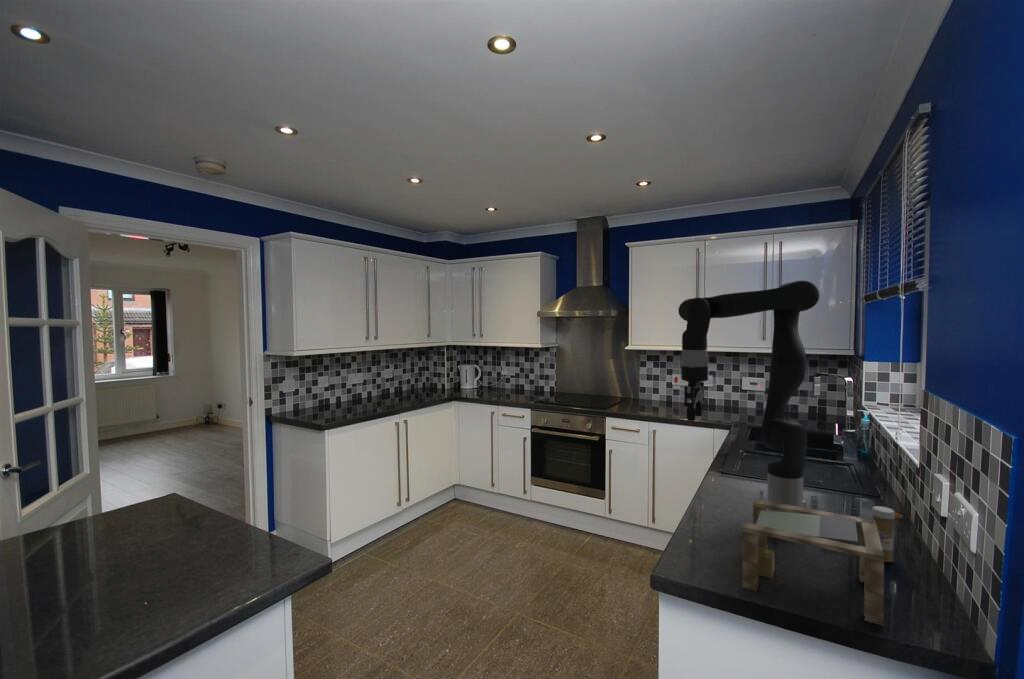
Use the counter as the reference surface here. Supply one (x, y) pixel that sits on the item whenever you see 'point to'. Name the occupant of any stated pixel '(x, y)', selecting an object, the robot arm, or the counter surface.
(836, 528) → the trapdoor
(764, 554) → the block
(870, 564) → the trapdoor frame
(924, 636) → the counter surface
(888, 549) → the sprinkles bottle
